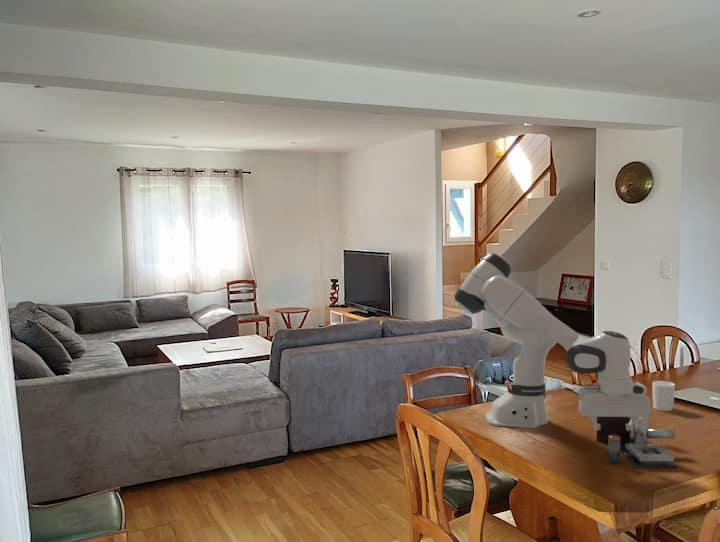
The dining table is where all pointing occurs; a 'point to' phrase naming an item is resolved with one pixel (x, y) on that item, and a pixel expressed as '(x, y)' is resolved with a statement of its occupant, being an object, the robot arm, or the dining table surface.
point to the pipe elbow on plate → (648, 447)
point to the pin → (614, 449)
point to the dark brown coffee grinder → (614, 429)
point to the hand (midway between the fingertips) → (613, 430)
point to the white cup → (663, 395)
